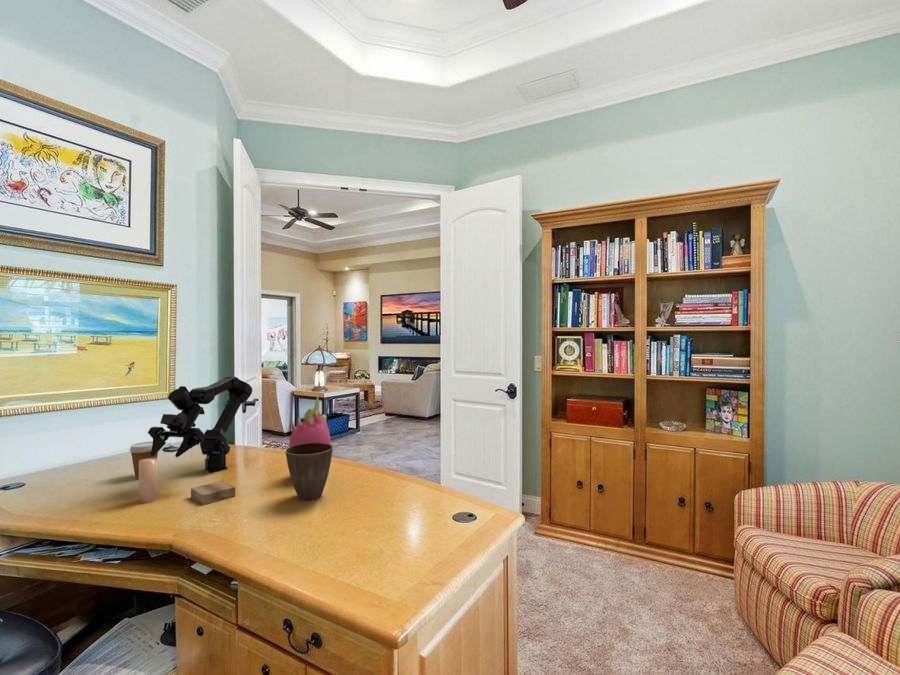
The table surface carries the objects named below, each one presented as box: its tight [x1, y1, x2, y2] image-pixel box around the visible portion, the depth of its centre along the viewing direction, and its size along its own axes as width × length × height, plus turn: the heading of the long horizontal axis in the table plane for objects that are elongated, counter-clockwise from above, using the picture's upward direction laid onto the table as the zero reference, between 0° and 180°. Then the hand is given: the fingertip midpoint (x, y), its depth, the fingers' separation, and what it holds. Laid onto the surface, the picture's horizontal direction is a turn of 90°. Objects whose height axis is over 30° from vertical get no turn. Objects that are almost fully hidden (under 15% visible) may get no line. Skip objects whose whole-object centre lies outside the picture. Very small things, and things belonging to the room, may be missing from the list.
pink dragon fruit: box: [288, 396, 332, 448], centre depth 169 cm, size 18×14×30 cm
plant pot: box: [285, 443, 334, 501], centre depth 148 cm, size 15×15×16 cm
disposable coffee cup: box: [129, 441, 159, 479], centre depth 170 cm, size 10×10×12 cm
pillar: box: [138, 458, 158, 504], centre depth 145 cm, size 5×5×13 cm
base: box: [190, 480, 236, 506], centre depth 148 cm, size 10×10×3 cm
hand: (163, 456), depth 152 cm, fingers open, 9 cm apart
